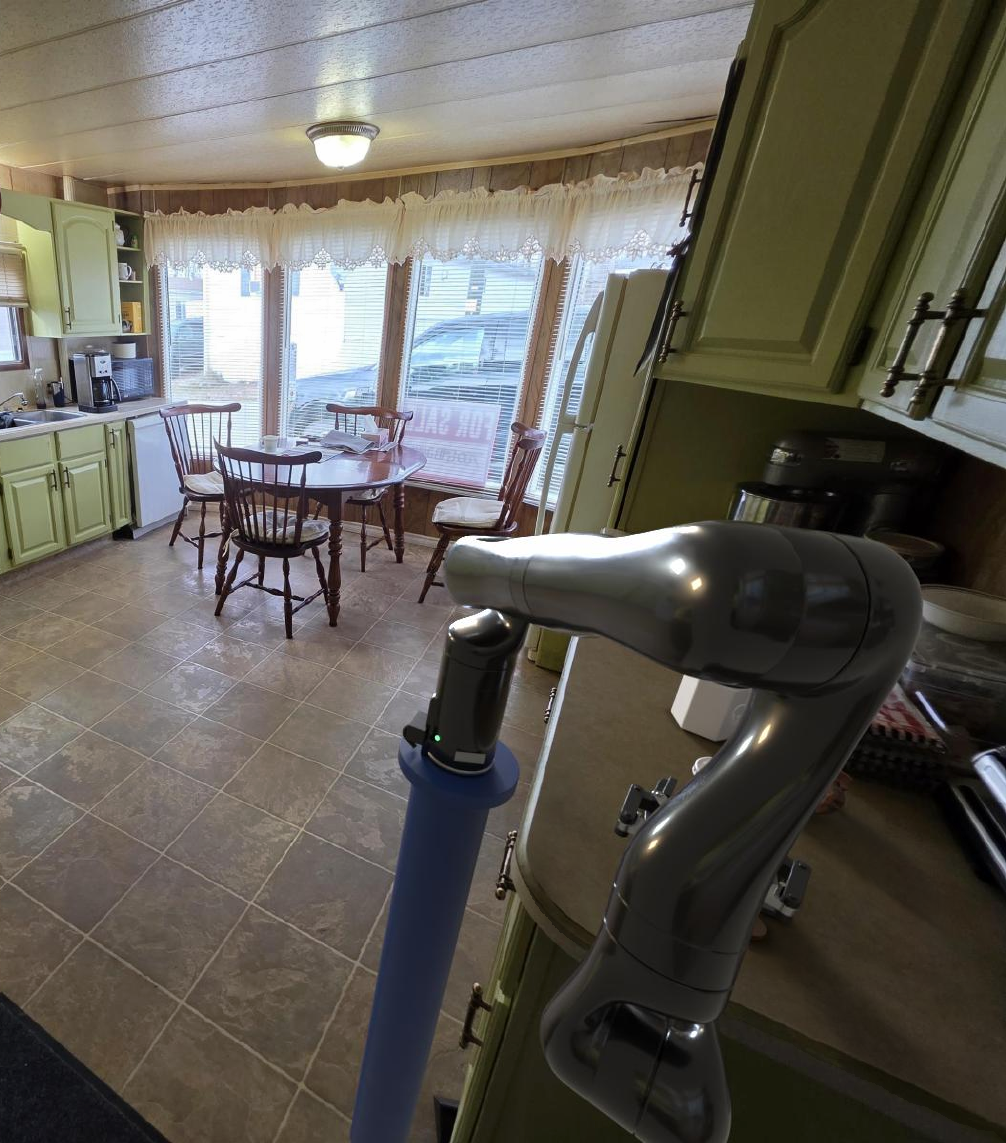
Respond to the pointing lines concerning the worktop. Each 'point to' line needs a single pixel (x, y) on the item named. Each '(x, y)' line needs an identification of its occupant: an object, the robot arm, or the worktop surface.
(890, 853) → the worktop surface
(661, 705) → the worktop surface
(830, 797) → the pottery mug
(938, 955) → the worktop surface
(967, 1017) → the worktop surface
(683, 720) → the jar
